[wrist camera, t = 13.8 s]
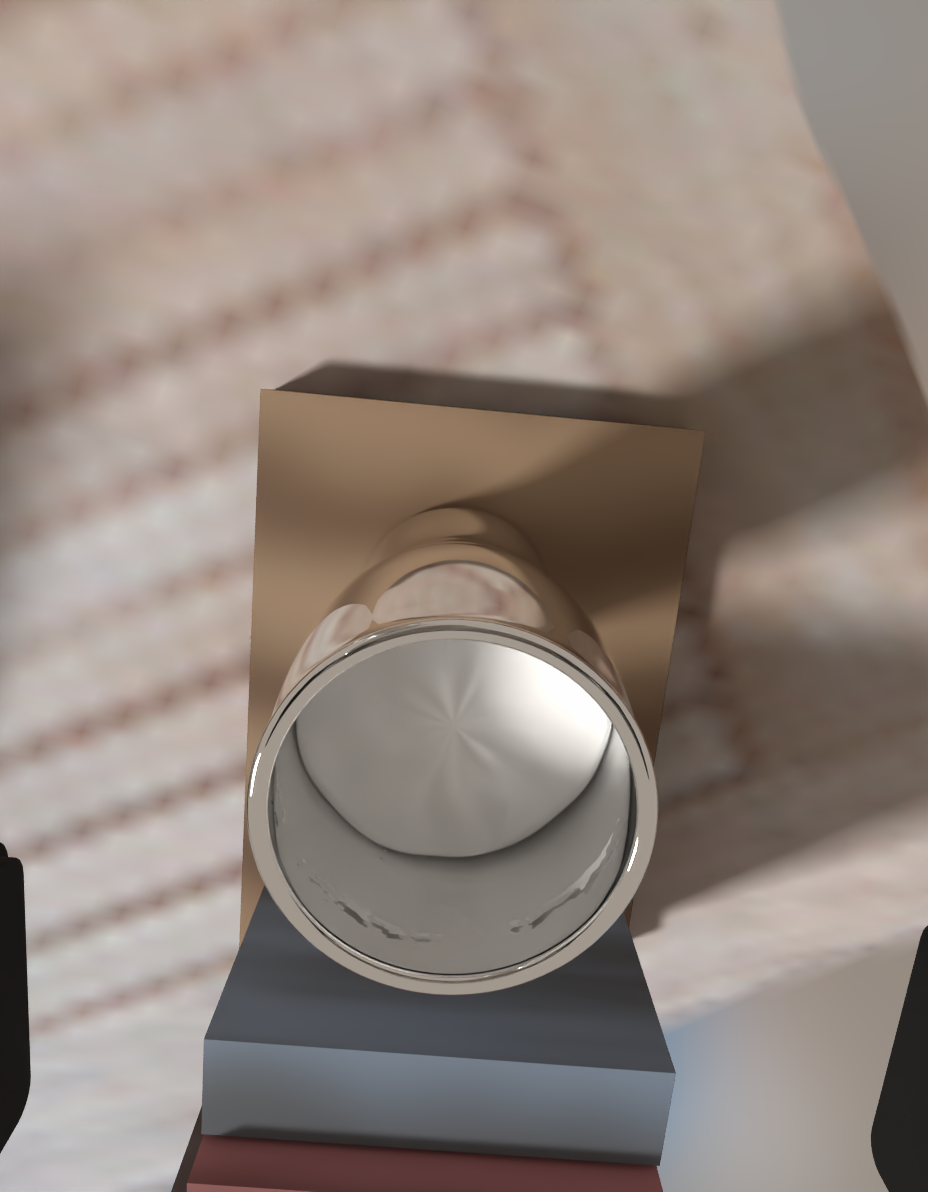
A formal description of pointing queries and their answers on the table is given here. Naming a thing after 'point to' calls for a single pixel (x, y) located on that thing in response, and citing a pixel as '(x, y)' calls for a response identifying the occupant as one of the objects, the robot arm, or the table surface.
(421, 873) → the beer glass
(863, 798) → the table surface
